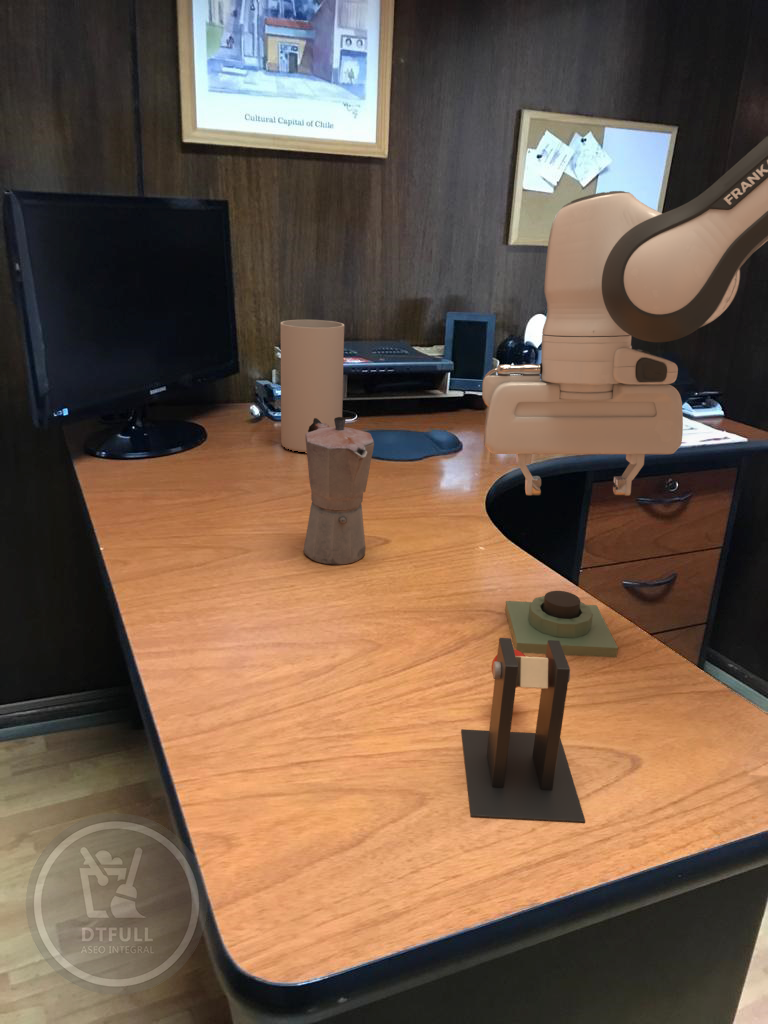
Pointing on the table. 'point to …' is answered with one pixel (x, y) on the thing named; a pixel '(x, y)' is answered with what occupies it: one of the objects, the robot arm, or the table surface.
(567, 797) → the switch base
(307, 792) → the table surface
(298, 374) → the cylinder vase
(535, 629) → the block
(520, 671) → the lever
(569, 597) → the button
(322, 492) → the moka pot
